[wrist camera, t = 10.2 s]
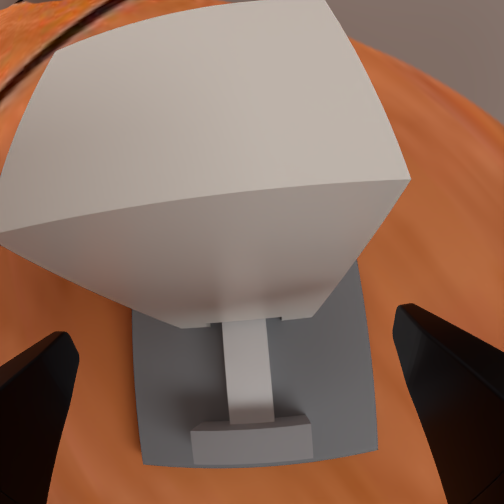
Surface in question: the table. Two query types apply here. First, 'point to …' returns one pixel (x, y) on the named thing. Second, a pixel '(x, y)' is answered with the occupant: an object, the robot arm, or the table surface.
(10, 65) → the table surface
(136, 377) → the rail plate
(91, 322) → the table surface
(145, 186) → the block
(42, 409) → the robot arm
